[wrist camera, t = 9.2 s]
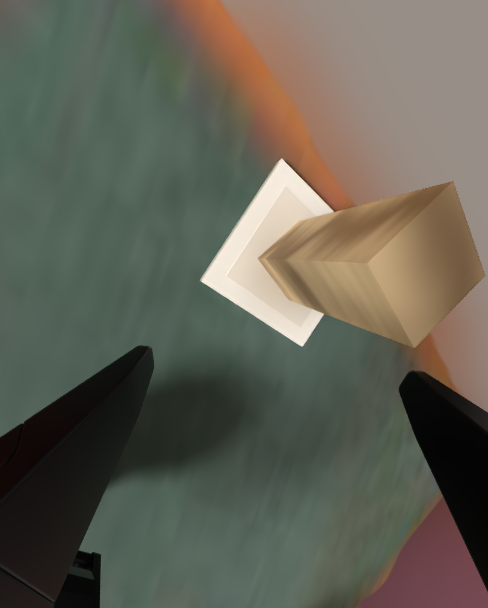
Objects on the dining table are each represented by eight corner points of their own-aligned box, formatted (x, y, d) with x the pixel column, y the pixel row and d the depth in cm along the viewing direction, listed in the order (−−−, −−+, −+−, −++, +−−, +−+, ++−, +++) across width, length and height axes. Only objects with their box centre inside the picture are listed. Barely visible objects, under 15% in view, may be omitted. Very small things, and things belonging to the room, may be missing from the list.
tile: (298, 344, 24) (302, 347, 23) (199, 280, 20) (200, 281, 19) (362, 246, 24) (369, 246, 23) (277, 162, 20) (282, 158, 19)
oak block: (288, 300, 22) (414, 348, 11) (257, 258, 20) (367, 263, 9) (326, 265, 22) (485, 275, 11) (298, 221, 21) (452, 181, 9)
